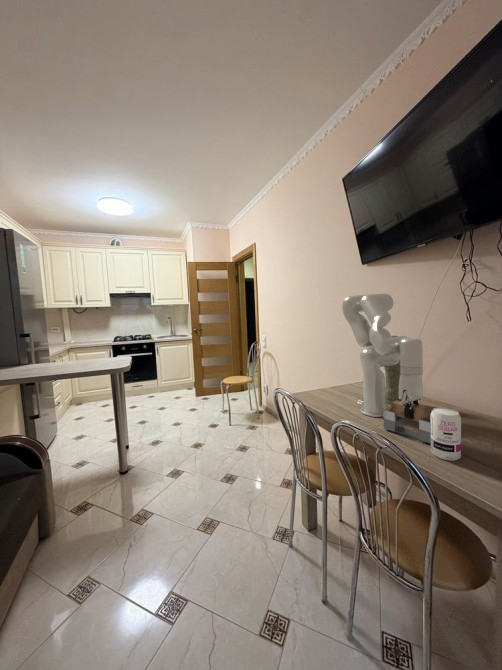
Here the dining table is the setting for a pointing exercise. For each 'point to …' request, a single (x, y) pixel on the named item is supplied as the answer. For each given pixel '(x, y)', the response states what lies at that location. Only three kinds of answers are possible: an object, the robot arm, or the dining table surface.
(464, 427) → the dining table surface
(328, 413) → the dining table surface
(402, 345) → the robot arm
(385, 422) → the bracket stand
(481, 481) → the dining table surface
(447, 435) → the supplement can
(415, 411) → the brown wooden block
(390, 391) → the thermos
